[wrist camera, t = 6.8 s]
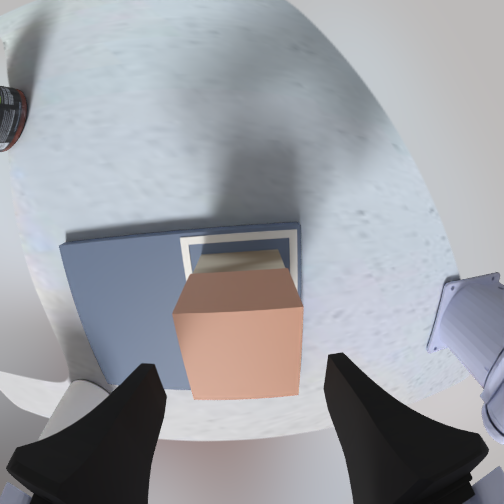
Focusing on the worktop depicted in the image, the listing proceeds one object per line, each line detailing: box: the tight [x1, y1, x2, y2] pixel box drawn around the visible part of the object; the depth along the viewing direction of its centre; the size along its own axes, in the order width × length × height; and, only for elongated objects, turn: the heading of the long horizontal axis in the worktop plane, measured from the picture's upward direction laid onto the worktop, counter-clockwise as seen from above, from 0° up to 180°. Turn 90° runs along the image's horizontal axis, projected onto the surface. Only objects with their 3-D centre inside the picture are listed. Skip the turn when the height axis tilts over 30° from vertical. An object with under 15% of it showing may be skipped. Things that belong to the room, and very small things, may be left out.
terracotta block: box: [172, 268, 304, 400], centre depth 13 cm, size 5×5×4 cm
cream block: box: [193, 249, 285, 274], centre depth 17 cm, size 5×5×4 cm
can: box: [38, 380, 110, 441], centre depth 18 cm, size 6×6×12 cm
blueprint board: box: [59, 222, 301, 390], centre depth 20 cm, size 18×14×1 cm
